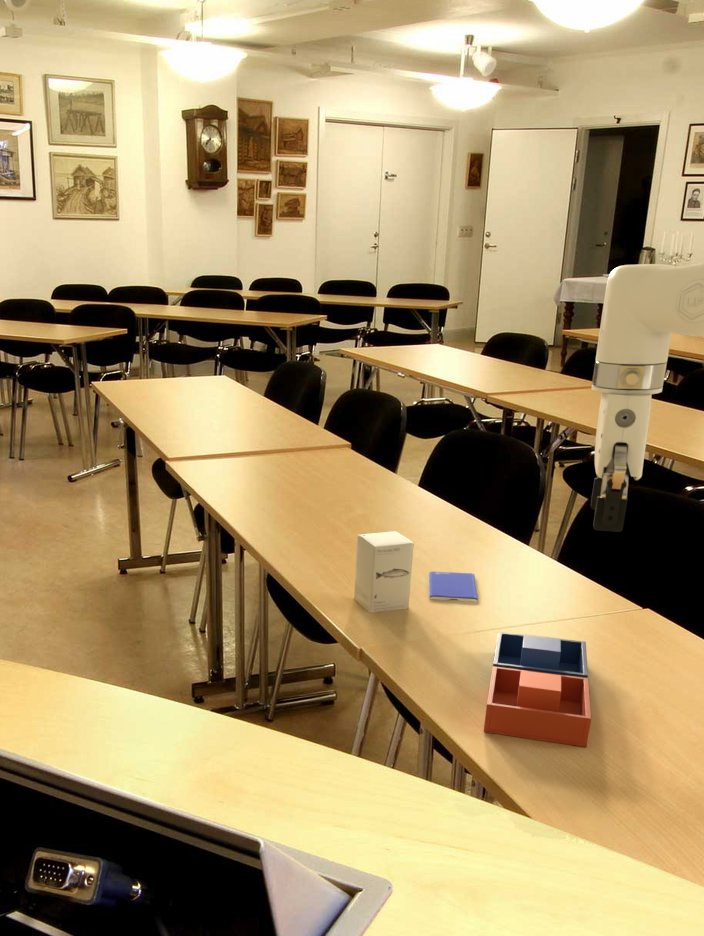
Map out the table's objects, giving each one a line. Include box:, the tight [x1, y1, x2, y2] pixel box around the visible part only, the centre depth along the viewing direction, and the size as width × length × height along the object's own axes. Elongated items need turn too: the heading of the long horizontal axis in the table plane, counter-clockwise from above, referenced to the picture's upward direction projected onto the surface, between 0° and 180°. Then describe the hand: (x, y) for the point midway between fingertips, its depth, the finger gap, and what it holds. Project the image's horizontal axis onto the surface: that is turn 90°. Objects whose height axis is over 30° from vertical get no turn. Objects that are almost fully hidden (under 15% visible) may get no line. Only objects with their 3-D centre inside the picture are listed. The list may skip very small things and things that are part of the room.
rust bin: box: [483, 665, 592, 748], centre depth 119 cm, size 12×12×4 cm
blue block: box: [520, 634, 562, 670], centre depth 130 cm, size 5×5×5 cm
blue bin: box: [492, 631, 589, 679], centre depth 131 cm, size 12×12×4 cm
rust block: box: [516, 670, 561, 712], centre depth 119 cm, size 5×5×5 cm
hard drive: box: [428, 571, 479, 603], centre depth 164 cm, size 2×8×12 cm
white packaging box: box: [353, 530, 415, 614], centre depth 156 cm, size 7×7×13 cm
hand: (605, 519), depth 112 cm, fingers open, 9 cm apart
